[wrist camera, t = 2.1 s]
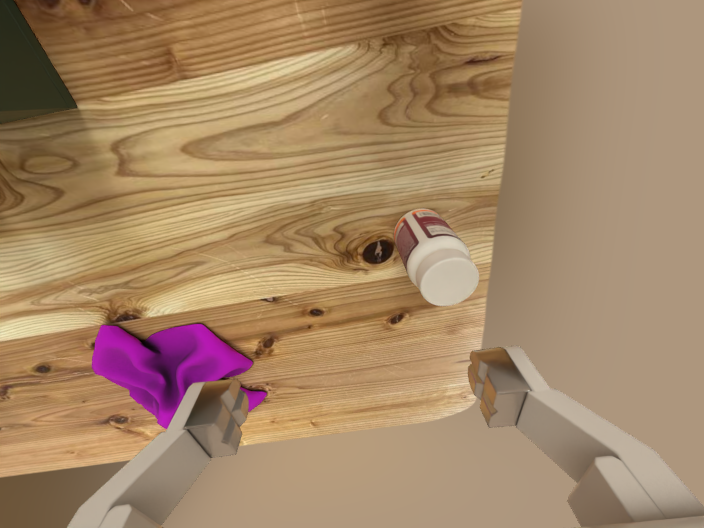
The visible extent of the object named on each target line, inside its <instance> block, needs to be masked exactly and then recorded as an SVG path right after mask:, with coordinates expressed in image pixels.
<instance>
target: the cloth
mask: <svg viewBox="0 0 704 528" xmlns="http://www.w3.org/2000/svg"><path fill="white" fill-rule="evenodd" d="M252 364H253V362H252V361H251V360H249V359H248V358H246V357H245V356H243V355H241V354H240V353H238V352H237V351H236V350H234V349H233V348H232V347H230V346H229V345H227V344H226V343H224V342H223V341H222V340H220V339H219V338H218V337H217V336H215V335H214V334H213V333H212V332H211V331H210V330H208V329H207V328H206V327H205V326H204V325H202V324H192V325H185V326H179V327H174V328H170V329H166V330H163V331H160V332H157V333H155V334H153V335H151V336H150V337H148V338H147V339H146V341H144V342H142V343H141V342H140V341H139V340H138V339H137V338H135V337H133V336H132V335H130V334H128V333H127V332H125V331H124V330H123V329H121V328H119V327H118V326H109V325H101V327H100V330H99V332H98V335H97V337H96V340H95V349H94V353H93V357H92V369H93V370H94V372H95V374H97V375H101V376H103V377H105V378H107V379H108V380H110V381H112V382H114V383H116V384H118V385H120V386H122V387H124V388H127V389H129V392H130V396H131V397H132V398H133V399H134V400H135V401H136V402H137V403H139V404H141V405H142V406H143V407H144V408H145V409H146V410H148V411H149V412H151V413H152V414H153V415H155V417H156V418H157V419H158V421H157V423H158V424H159V425H161V426H162V427H164V428H165V429H167V428H168V426H169V424H170V422H171V420H172V418H173V416H174V415H175V413H176V411H177V409H178V407H179V405H180V403H181V401H182V399H183V397H184V395H185V393H186V391H187V389H188V388H189V387H190V386H191V385H192V384H193V383H198V382H207V381H219V380H220V379H221V378H223V377H232V376H236V375H239V374H241V373H243V372H245V371H247V370H248V369H249V368H250V367H251V365H252ZM240 390H242V391H244V392H246V394H247V396H248V401H249V410H248V412H250V411H251V410H252V409H254V408H255V407H256V406H258V405H259V404H260V403H261V402H262V401H263V399H264V398H265V396H266V395H267V393H265V392H256V391H249V390H247V389H245V388H242V387H240Z"/></svg>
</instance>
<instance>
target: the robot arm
mask: <svg viewBox="0 0 704 528" xmlns="http://www.w3.org/2000/svg"><path fill="white" fill-rule="evenodd" d="M470 360H471V362H472V364H471V365H470V366H468V378H469V383H470V386H471V389H472V391H473V393H474V395H475V396H476V397H478V398H479V399H480V400H481V404H480V409H481V411H482V414H483V416H484V418H485V420H486V422H487V425H488V427H489V428H491V427H504V426H516V428H518V429H519V430H520V431H521V432H522V433H523V434H524V435H525V436H526V437H528V439H530V440H531V441H532V442H533V443H534V444H535V445H536V446H537V447H538V448H539V449H541V450H542V451H543V452H544V453H545V454H546V455H547V456H548V457H549V458H550V459H552V460H553V461H554V462H555V463H556V464H557V465H558V466H559V467H560V468H561V469H563V470H564V471H565V472H566V473H567V474H568V475H569V476H570V477H571V478H572V479H574V480H575V481H576V482H577V485H576V486H575V488H574V489H573V490H572V492H571V493H570V495H569V497H568V500H567V501H568V503H569V505H570V507H571V509H572V511H573V512H574V514H575V516H576V518H577V520H578V522H579V524H580V525H581V527H577V528H704V506H703V505H702V504H701V503H700V501H699V500H698V499H697V498H696V497H695V496H694V495H693V493H692V492H691V491H690V490H689V489H688V488H687V487H686V486H685V484H684V483H683V482H682V481H681V480H680V479H679V478H678V476H677V475H676V474H675V473H674V472H673V471H672V470H671V469H670V467H669V466H668V465H667V464H666V463H665V462H664V460H663V459H662V458H661V457H660V456H659V455H658V454H657V453H656V451H655V450H653V449H652V448H650V447H649V446H647V445H645V444H644V443H642V442H641V441H639V440H637V439H636V438H634V437H633V436H631V435H629V434H628V433H626V432H624V431H623V430H621V429H620V428H618V427H616V426H615V425H613V424H612V423H610V422H609V421H607V420H605V419H604V418H602V417H600V416H599V415H597V414H596V413H594V412H592V411H590V410H589V409H588V408H586V407H584V406H583V405H581V404H580V403H578V402H576V401H575V400H573V399H572V398H570V397H568V396H567V395H565V394H564V393H562V392H560V391H559V390H557V389H551V388H550V387H549V386H548V384H547V383H546V382H545V380H544V379H543V378H542V376H541V375H540V373H539V372H538V371H537V369H536V368H535V366H534V365H533V364H532V362H531V361H530V359H529V358H528V357H527V355H526V354H525V352H524V351H523V350H522V348H521V347H519V346H508V347H497V348H489V349H482V350H474V351H472V352H471V353H470ZM240 386H241V384H240V382H239V380H238V379H229V380H219V381H207V382H198V383H193V384H192V385H191V386H190V387H189V388H188V389H187V391H186V393H185V395H184V397H183V399H182V401H181V403H180V405H179V407H178V409H177V411H176V413H175V415H174V416H173V418H172V420H171V422H170V424H169V426H168V428H167V430H166V432H161V433H160V434H159V435H158V436H157V437H156V438H154V439H153V440H152V441H151V442H150V443H149V444H148V445H147V446H146V447H145V448H144V449H142V450H141V451H140V452H139V453H138V454H137V455H136V456H135V457H134V458H133V459H132V460H130V461H129V462H128V463H127V464H126V465H125V466H124V467H123V468H122V469H121V470H120V471H119V472H117V473H116V474H115V475H114V476H113V477H112V478H111V479H110V480H109V481H108V482H107V483H105V484H104V485H103V486H102V487H101V488H100V489H99V490H98V491H97V492H96V493H95V494H93V495H92V496H91V497H90V498H89V499H88V500H87V501H86V502H85V503H84V504H83V505H82V506H80V508H79V509H78V511H77V512H76V514H75V515H74V517H73V519H72V520H71V522H70V523H69V525H68V527H67V528H163V527H162V526H161V525H162V524H163V523H164V521H165V520H166V519H167V517H168V516H169V515H170V514H171V512H172V511H173V510H174V508H175V507H176V506H177V504H178V503H179V502H180V500H181V499H182V498H183V496H184V495H185V494H186V492H187V491H188V490H189V488H190V487H191V486H192V484H193V483H194V482H195V480H196V479H197V478H198V477H199V475H200V474H201V473H202V471H203V470H204V469H205V467H206V466H207V464H208V463H209V462H210V461H211V458H215V457H222V456H229V455H236V453H237V450H238V446H239V443H240V439H241V436H242V431H241V429H240V426H241V425H242V424H243V423H244V422H245V421H246V419H247V415H248V410H249V401H248V396H247V394H246V392H244V391H242V390H240Z"/></svg>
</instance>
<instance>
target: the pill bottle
mask: <svg viewBox="0 0 704 528" xmlns="http://www.w3.org/2000/svg"><path fill="white" fill-rule="evenodd" d="M394 241H395V244H396V246H397V249H398V251H399V254H400V256H401V259H402V261H403V264H404V266H405V268H406V271H407V274H408V276H409V278H410V280H411V281H412V282H413V283H414V284H415V285H416V286H417V287H418V288H419V290H420V292H421V294H422V296H423V297H424V299H425V300H426V301H428V302H429V303H431V304H433V305H437V306H451V305H454V304H458V303H460V302H462V301H463V300H465V299H466V298H468V297H469V296H470V295H471V294H472V293H473V292H474V290H475V289H476V287H477V285H478V281H479V272H478V269H477V267H476V266H475V264H474V263H473V262H472V261H471V259H470V253H469V250H468V248H467V246H466V245H465V243H464V242H463V241H462V240H461V239H460V238H459V237H458V236H457V235H456V234H455V232H454V231H453V230H452V229H451V228H450V227H449V226H448V224H447V223H446V222H445V221H444V220H443V219H442V218H441V216H440V215H439V214H437V213H436V212H434V211H432V210H430V209H424V208H423V209H422V208H421V209H415V210H412V211H410V212H408V213H406V214H405V215H404V216H402V217H401V218H400V220H399V221H398V223H397V224H396V227H395V230H394Z"/></svg>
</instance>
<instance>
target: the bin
mask: <svg viewBox="0 0 704 528" xmlns="http://www.w3.org/2000/svg"><path fill="white" fill-rule="evenodd" d="M74 108H77V105H76V104H75V102H74V100H73V99H72V97H71V95H70V94H69V92H68V90H67V89H66V87H65V85H64V84H63V82H62V80H61V79H60V77H59V75H58V74H57V72H56V70H55V69H54V67H53V66H52V64H51V62H50V61H49V59H48V57H47V56H46V54H45V52H44V51H43V49H42V47H41V46H40V44H39V42H38V41H37V39H36V37H35V36H34V34H33V32H32V31H31V29H30V27H29V26H28V24H27V22H26V21H25V19H24V17H23V16H22V14H21V12H20V11H19V9H18V7H17V6H16V4H15V2H14V1H13V0H0V124H1V123H6V122H11V121H16V120H20V119H25V118H30V117H35V116H40V115H45V114H49V113H54V112H59V111H64V110H69V109H74Z"/></svg>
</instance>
